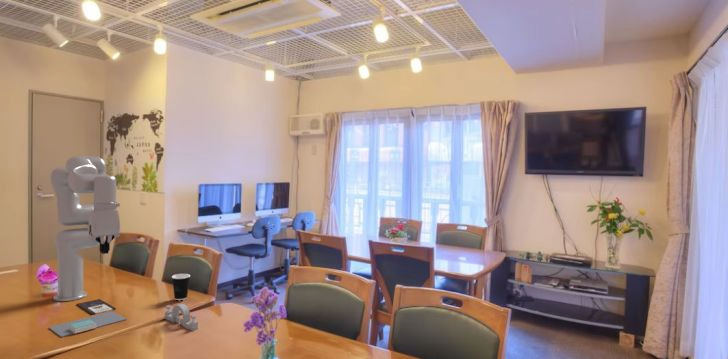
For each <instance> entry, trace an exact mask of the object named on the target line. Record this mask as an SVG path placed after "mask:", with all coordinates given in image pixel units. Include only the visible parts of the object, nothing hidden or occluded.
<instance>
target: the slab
mask: <svg viewBox="0 0 728 359" xmlns="http://www.w3.org/2000/svg"><path fill="white" fill-rule="evenodd" d="M94 328H95V329H98V328H97V324H96V323H95V322H93V321H91V320H86V321H82V322H78V323H74V324H70V325H69V330H71V331H72V332H73V333H76V334H80V333H83V332H86V330H87V331H90V329H91V330H94ZM79 332H80V333H79Z"/></svg>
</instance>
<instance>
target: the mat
mask: <svg viewBox="0 0 728 359" xmlns="http://www.w3.org/2000/svg"><path fill="white" fill-rule="evenodd" d="M86 320H91V321H93V322H95V323H96V324H97V328H94V329H98V328H102V327H106V326H109V325H112V324H116V323H120V322H123V321H124V322H125V321H128V320H127V318H126V317H124V316H122V315H121V314H118V313H117V312H115V311H114V310H111V311H107V312H103V313H99V314H95V315H91V316H88V317H84V318H80V319H77V320H72V321H68V322H63V323H60V324H55V325H53V326H49V327H48V329H50V330H51V332H53V333H55V334H56V335H58V337H60V338H63V337H68V336H72V335H75V334H77V333H73V332H72V331H71V330H69V325H70V324H74V323H78V322H82V321H86ZM94 329H93V330H94ZM90 330H92V329H90ZM90 330H89V331H90ZM86 331H88V330H86ZM86 331H85V332H86ZM80 333H81V332H79V333H78V334H80Z"/></svg>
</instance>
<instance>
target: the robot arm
mask: <svg viewBox="0 0 728 359" xmlns="http://www.w3.org/2000/svg"><path fill="white" fill-rule="evenodd" d="M105 172H106V162H105V160H104V159H103V158H101V157H100V156H89V155H88V156H87V155H86V156H85V155H84V156H83V155H77V156H72V157H70V158H68V159H67V160H66V162H65V167H63V166H62V167H58V168H54V169H52V170H51V172H50V179H49V180H50V184H51V187H52V190H53V191H54V194H55V198H56V207H57V208H56V209H57V219H58V223H59V225H60V226H61V227H76V226H78V228H68V229H61V230H59V231H58V232H57V233H56V234H55V236H54V241H55V242H54V243H55V246H56V247H55V248H56V254H57V294H55V295H53V300H54V301H55V302H70V301H76V300H79V299H82V298H85V297H87V295H88V292H87V291H85V290H84V258H83V256H82V255H81V253H79V252H78V250H81V249H88V248H95V247H98V246H99V252H100V254H102V255H105V254H109V252H110V249H111V248H110V247H111V245H110V244H111V243H112V241H113V240H115V239H116V238H119V237H120V236H121V234H120V233H121V221H120V214H119V211H118V207H120V203H118V202H117V178H116V177H115V176H113V175H109V174H104V173H105ZM79 194H93V204H81V203H80V195H79ZM79 226H87V227H79ZM104 237H105V238H104Z"/></svg>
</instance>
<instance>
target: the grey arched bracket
mask: <svg viewBox="0 0 728 359" xmlns="http://www.w3.org/2000/svg"><path fill="white" fill-rule="evenodd" d="M164 307H165V308H166V310H167V311H164V319H165V320H167V321H170V322H172V323H176V324H179V325H182V327H183V328H185V329H188V330H191V331H195V330H198V329H199V322H198V321H196V317H197V315H195V314H192V315H191V313H190V309H189V308H188V306H187V305H186V304H184V303H179V304H176V305H174V306H173V307H172V305H170V304H168V305H166V306H164ZM171 307H172V309H171ZM170 309H171V310H170ZM180 313H181V314H182V318H180ZM191 320H192V321H191Z"/></svg>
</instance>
